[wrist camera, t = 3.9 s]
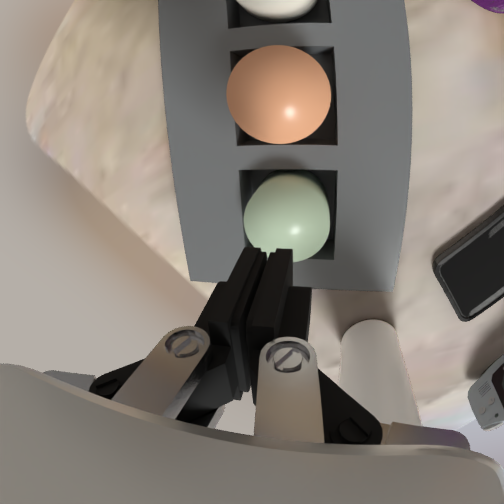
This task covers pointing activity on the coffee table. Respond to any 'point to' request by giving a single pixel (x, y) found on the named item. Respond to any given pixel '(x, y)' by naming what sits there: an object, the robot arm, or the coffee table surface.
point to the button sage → (289, 214)
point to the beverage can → (491, 5)
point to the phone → (474, 269)
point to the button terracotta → (278, 94)
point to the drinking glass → (377, 373)
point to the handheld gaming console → (489, 397)
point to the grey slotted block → (300, 152)
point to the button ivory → (277, 9)
